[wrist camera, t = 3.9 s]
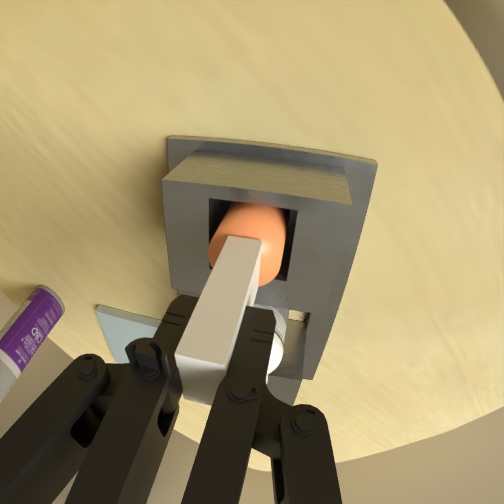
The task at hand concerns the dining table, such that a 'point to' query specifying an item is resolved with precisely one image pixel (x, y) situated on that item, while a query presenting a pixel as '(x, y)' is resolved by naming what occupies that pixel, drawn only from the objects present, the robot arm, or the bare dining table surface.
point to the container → (26, 334)
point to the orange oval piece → (254, 234)
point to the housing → (297, 237)
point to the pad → (124, 329)
